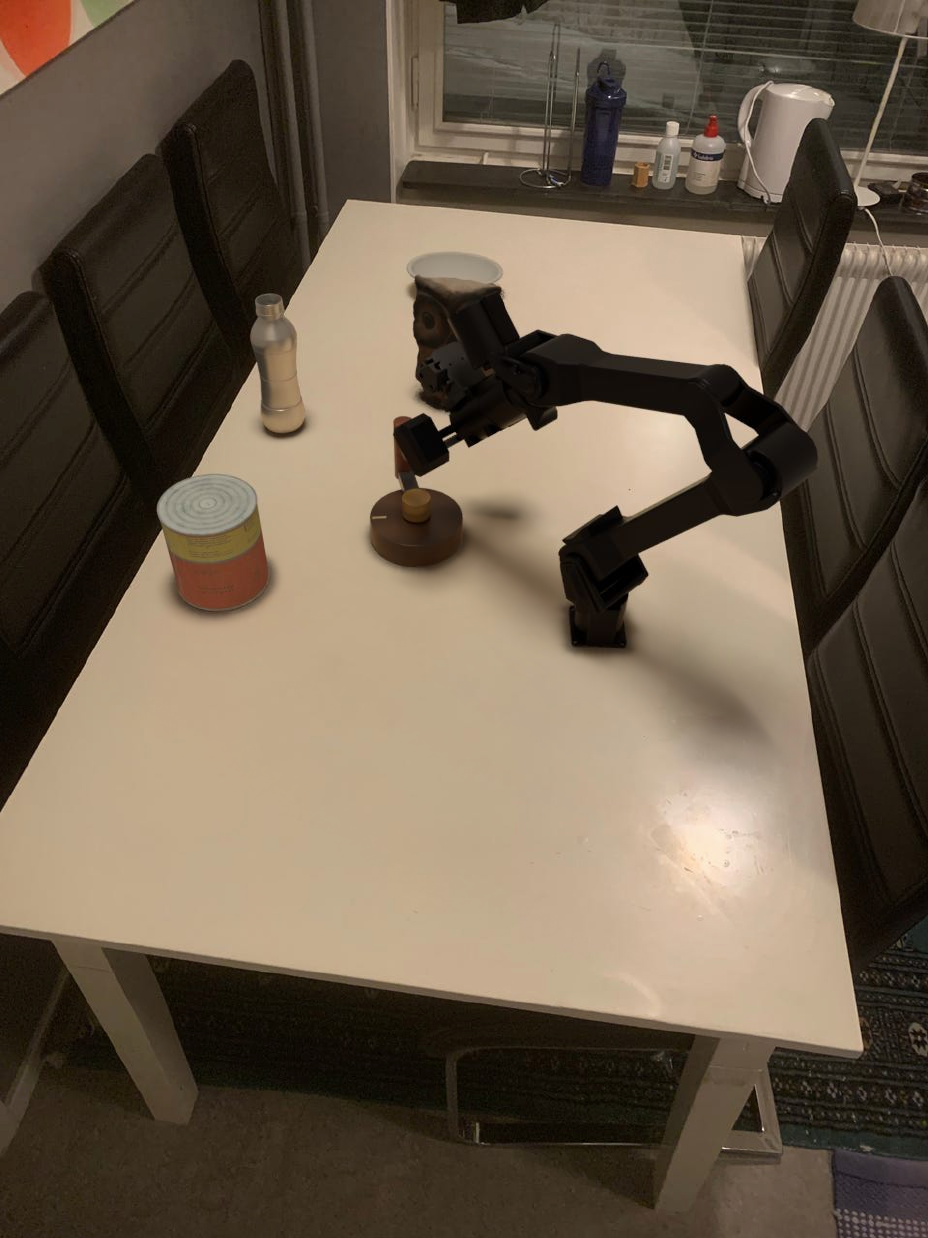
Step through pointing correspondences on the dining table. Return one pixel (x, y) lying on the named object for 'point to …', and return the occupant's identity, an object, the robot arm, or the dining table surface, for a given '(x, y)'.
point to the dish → (455, 267)
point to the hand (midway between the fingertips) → (431, 441)
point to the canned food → (214, 541)
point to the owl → (441, 317)
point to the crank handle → (410, 485)
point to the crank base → (416, 530)
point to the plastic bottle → (277, 365)
